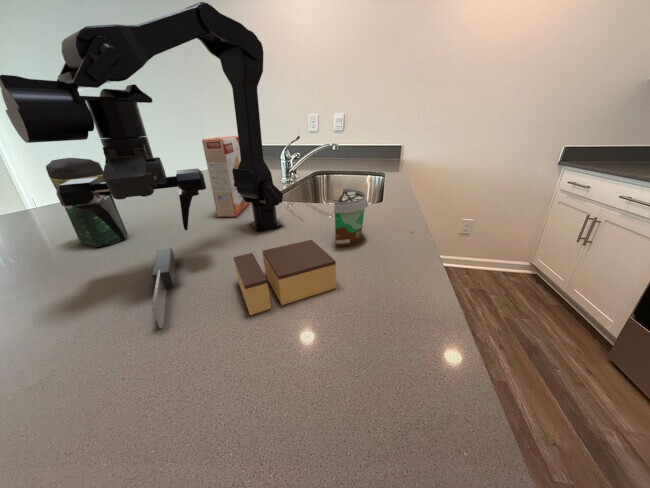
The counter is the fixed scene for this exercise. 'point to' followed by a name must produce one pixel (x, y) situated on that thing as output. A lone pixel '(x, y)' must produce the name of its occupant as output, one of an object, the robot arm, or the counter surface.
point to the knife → (162, 282)
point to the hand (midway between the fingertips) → (157, 234)
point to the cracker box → (224, 174)
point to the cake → (299, 270)
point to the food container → (349, 217)
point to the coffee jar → (83, 221)
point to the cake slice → (252, 283)
